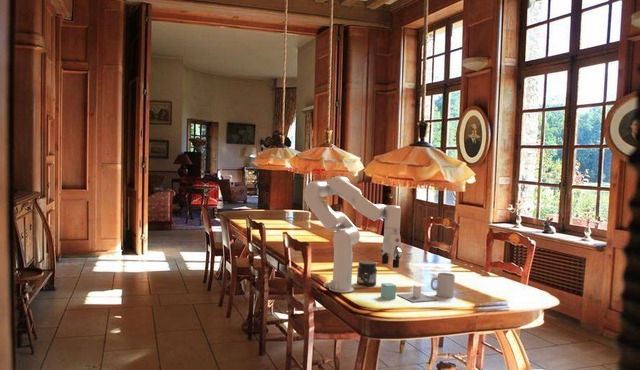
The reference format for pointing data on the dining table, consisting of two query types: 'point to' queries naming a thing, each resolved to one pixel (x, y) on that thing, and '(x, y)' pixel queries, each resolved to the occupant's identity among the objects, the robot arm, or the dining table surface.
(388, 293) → the teal rectangular block
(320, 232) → the dining table surface
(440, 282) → the mug
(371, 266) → the supplement container
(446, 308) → the dining table surface
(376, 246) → the dining table surface
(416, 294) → the grey plate with knob
